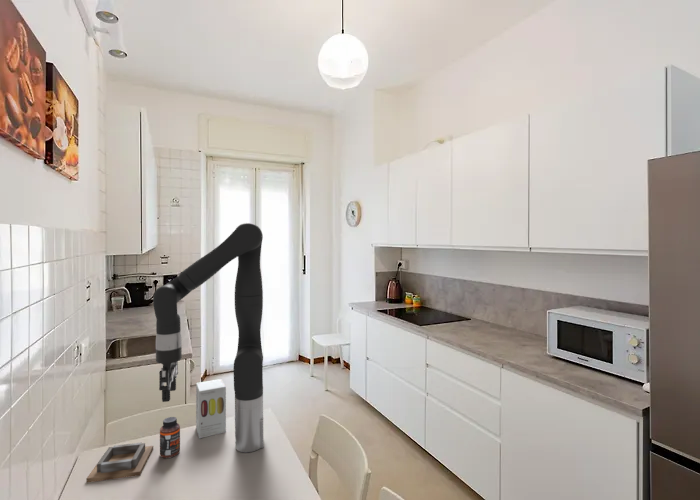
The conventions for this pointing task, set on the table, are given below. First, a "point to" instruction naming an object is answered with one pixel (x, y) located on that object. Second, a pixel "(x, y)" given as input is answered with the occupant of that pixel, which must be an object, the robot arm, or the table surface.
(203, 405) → the supplement box
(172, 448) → the supplement bottle
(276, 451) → the table surface
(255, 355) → the robot arm
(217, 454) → the table surface
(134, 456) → the collar holder
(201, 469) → the table surface
